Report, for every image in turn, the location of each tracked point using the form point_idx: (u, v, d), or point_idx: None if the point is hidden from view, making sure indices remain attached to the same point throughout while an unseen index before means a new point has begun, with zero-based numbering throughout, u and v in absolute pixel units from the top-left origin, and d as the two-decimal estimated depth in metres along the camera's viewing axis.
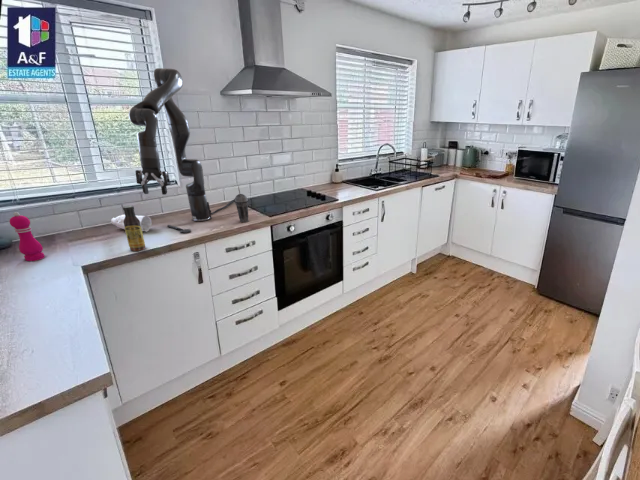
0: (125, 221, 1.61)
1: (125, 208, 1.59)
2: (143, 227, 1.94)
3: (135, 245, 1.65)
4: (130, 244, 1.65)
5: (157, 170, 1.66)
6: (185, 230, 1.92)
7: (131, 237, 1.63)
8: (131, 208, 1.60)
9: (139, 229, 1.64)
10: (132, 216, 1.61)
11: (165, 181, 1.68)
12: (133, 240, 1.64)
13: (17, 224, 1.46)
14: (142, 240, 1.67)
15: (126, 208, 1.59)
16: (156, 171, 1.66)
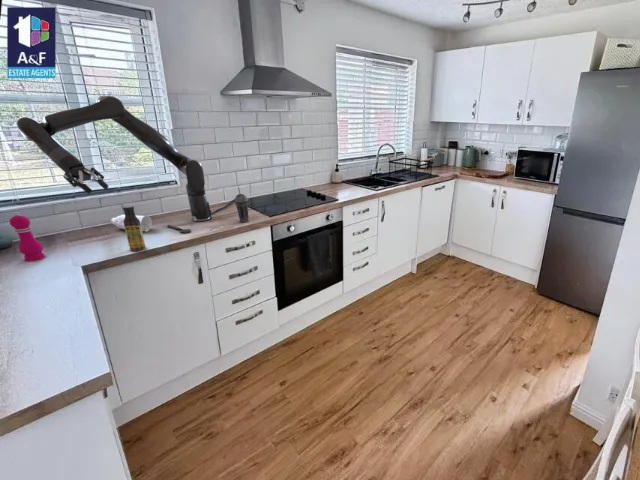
0: (125, 221, 1.61)
1: (125, 208, 1.59)
2: (143, 227, 1.94)
3: (135, 245, 1.65)
4: (130, 244, 1.65)
5: None
6: (185, 230, 1.92)
7: (131, 237, 1.63)
8: (131, 208, 1.60)
9: (139, 229, 1.64)
10: (132, 216, 1.61)
11: None
12: (133, 240, 1.64)
13: (17, 224, 1.46)
14: (142, 240, 1.67)
15: (126, 208, 1.59)
16: None
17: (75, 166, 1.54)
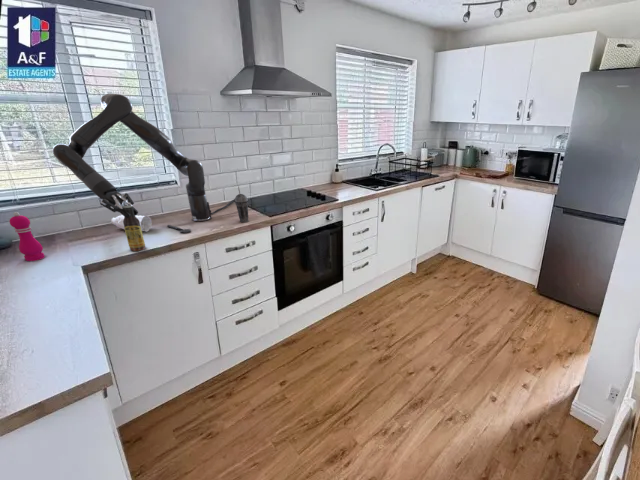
0: (125, 221, 1.61)
1: (124, 208, 1.58)
2: (143, 227, 1.94)
3: (135, 246, 1.65)
4: (130, 244, 1.65)
5: None
6: (185, 230, 1.92)
7: (131, 237, 1.63)
8: (130, 208, 1.60)
9: (139, 229, 1.64)
10: (131, 216, 1.61)
11: None
12: (133, 240, 1.64)
13: (17, 224, 1.46)
14: (142, 240, 1.67)
15: (125, 208, 1.59)
16: None
17: (109, 191, 1.57)
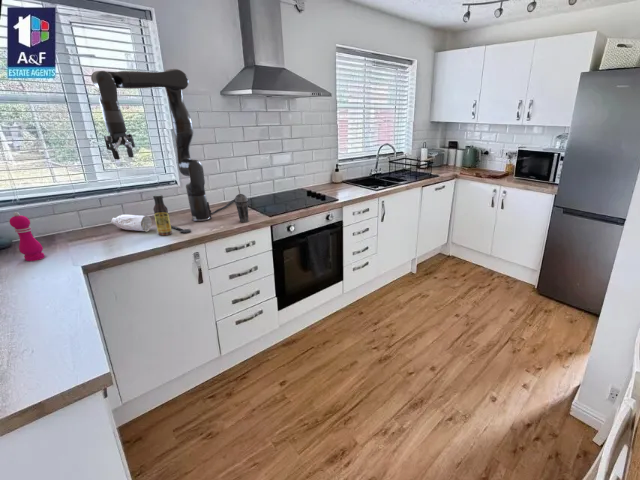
0: (155, 208, 1.81)
1: (155, 196, 1.78)
2: (143, 227, 1.94)
3: (163, 230, 1.85)
4: (159, 229, 1.84)
5: None
6: (185, 230, 1.92)
7: (160, 223, 1.83)
8: (160, 197, 1.80)
9: (167, 216, 1.84)
10: (161, 204, 1.81)
11: None
12: (161, 226, 1.84)
13: (17, 224, 1.46)
14: (169, 226, 1.86)
15: (156, 197, 1.78)
16: None
17: (119, 132, 1.70)
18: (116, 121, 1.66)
